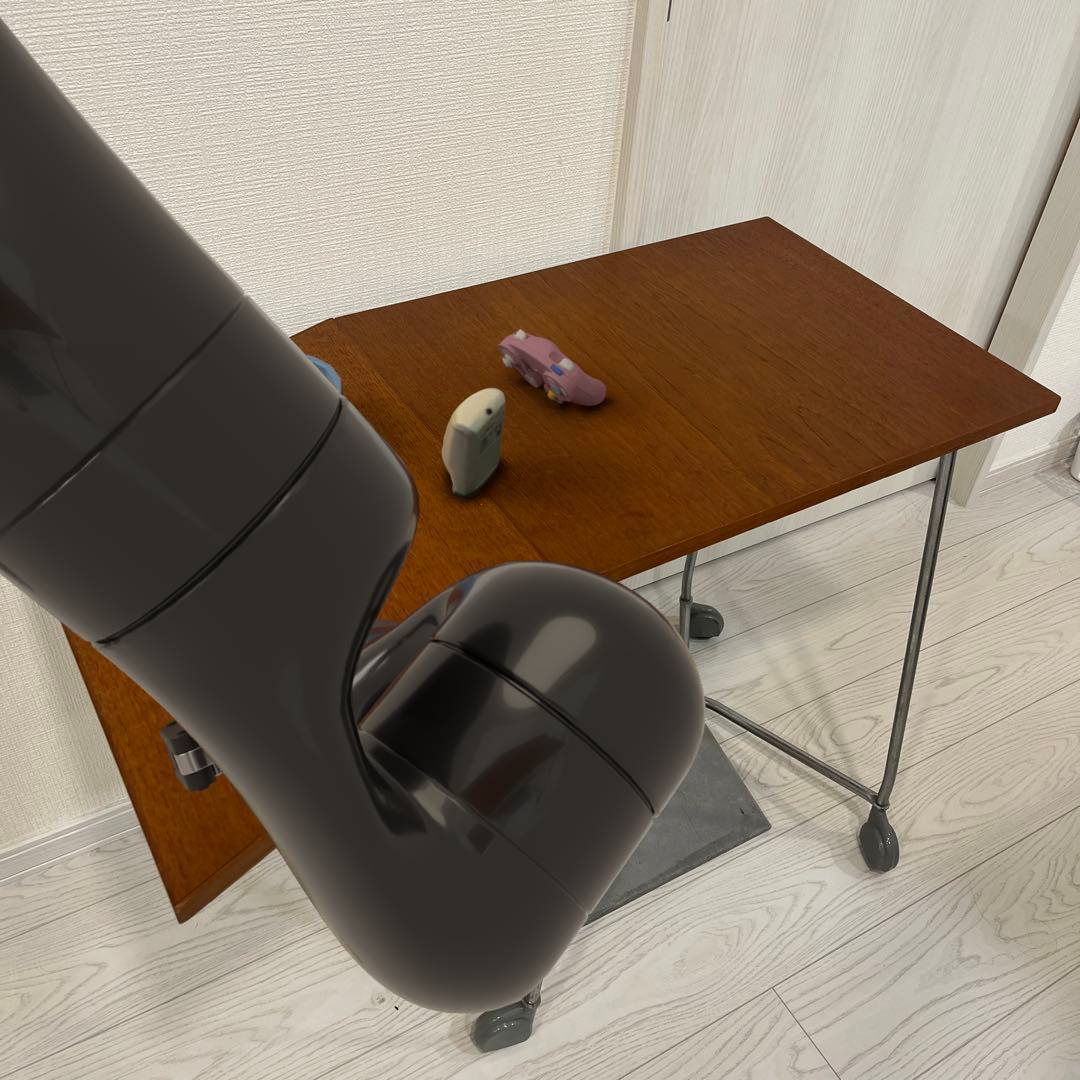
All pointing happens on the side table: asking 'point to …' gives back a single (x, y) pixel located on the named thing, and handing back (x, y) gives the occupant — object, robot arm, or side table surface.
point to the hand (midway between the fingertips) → (297, 688)
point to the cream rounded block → (474, 441)
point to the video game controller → (550, 369)
